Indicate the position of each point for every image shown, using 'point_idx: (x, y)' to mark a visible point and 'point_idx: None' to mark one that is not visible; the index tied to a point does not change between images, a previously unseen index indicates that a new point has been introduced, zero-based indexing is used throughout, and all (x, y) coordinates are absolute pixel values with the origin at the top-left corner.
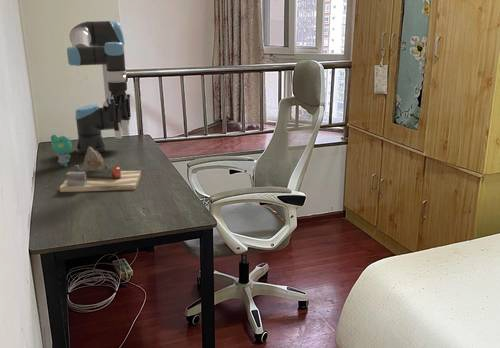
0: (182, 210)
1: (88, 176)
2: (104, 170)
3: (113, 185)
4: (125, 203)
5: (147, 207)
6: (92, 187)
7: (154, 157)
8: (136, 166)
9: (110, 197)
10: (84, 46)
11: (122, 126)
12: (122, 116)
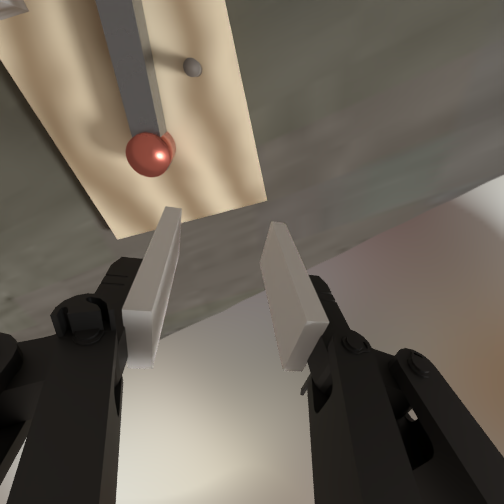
0: None
1: None
2: (125, 90)
3: (74, 170)
4: (4, 249)
5: (20, 303)
6: (14, 74)
7: (475, 162)
8: (367, 135)
9: (14, 185)
10: None
11: (284, 274)
12: (334, 379)
